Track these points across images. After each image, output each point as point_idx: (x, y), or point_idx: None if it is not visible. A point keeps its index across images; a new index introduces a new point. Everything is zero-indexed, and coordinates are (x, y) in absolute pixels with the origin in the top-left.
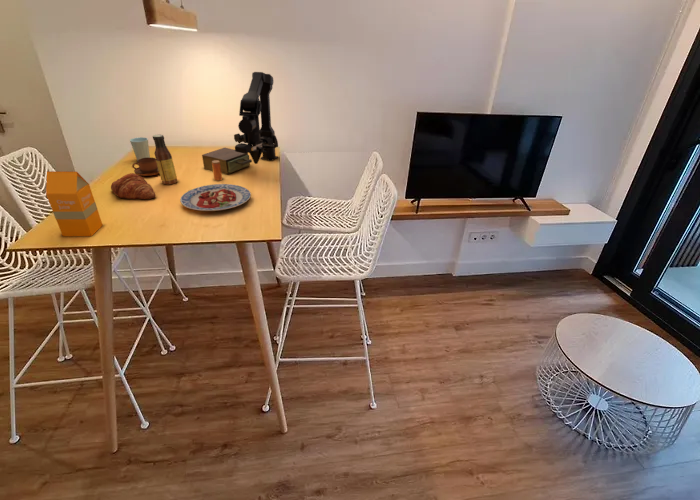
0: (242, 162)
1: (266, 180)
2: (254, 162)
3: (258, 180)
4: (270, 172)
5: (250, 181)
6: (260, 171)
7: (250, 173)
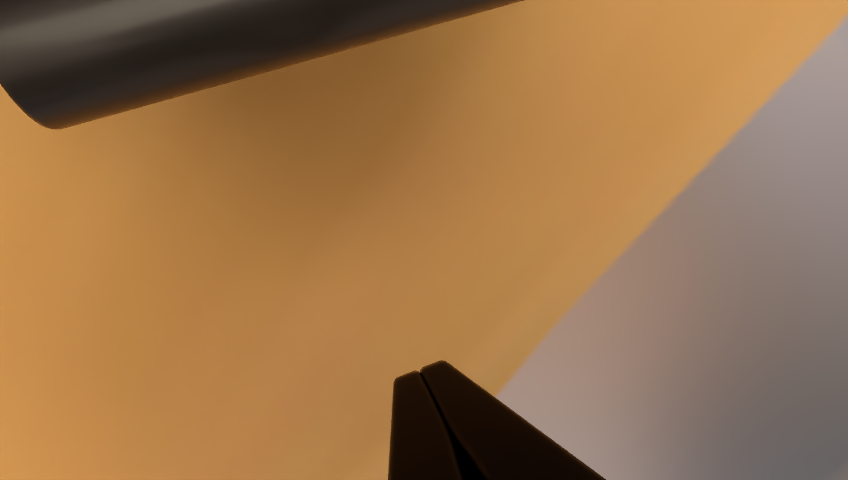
0: (41, 75)
1: (314, 476)
2: (393, 419)
3: (216, 446)
4: (569, 253)
5: (67, 441)
6: (510, 116)
7: (290, 88)
